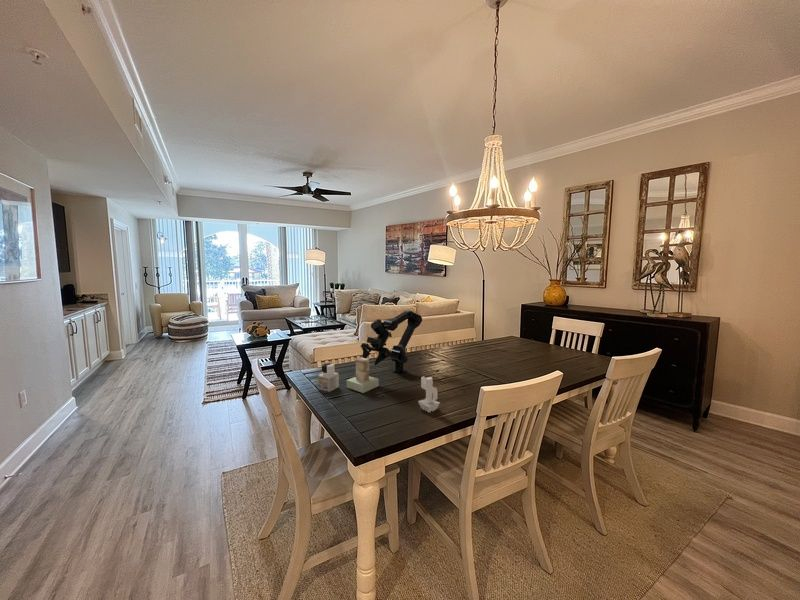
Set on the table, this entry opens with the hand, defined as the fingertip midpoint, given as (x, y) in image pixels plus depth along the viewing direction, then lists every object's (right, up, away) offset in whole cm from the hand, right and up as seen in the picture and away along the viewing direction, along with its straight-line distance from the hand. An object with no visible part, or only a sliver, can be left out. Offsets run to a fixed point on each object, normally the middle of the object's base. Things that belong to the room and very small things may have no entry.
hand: (368, 363), depth 180 cm
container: (-21, -13, -4) cm, 24 cm away
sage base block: (-3, -12, -2) cm, 13 cm away
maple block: (-3, -8, -3) cm, 9 cm away
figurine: (+30, -16, -28) cm, 44 cm away
